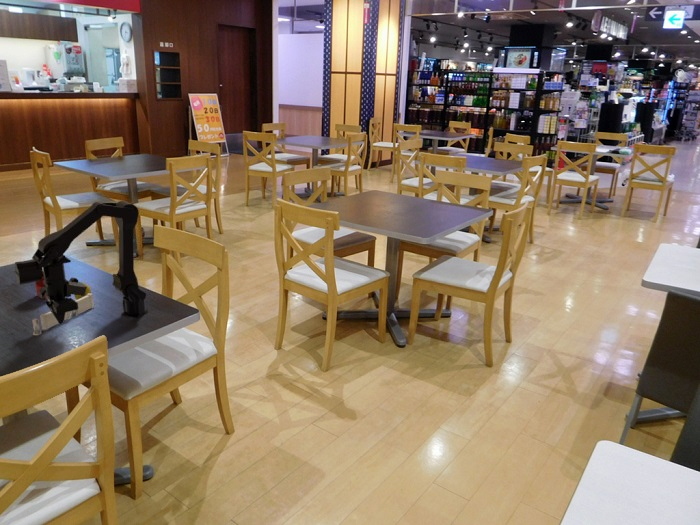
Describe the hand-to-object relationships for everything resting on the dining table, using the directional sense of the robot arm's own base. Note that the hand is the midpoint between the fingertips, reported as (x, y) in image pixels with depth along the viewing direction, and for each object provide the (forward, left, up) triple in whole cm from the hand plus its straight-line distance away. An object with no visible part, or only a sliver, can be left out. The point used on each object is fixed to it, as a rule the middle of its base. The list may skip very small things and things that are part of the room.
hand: (61, 323), depth 174 cm
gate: (+6, -4, -3) cm, 7 cm away
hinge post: (+6, -11, -3) cm, 13 cm away
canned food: (+28, -22, -3) cm, 36 cm away
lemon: (+11, -21, -3) cm, 24 cm away
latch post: (+6, +4, -3) cm, 8 cm away
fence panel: (+6, -16, -3) cm, 17 cm away
